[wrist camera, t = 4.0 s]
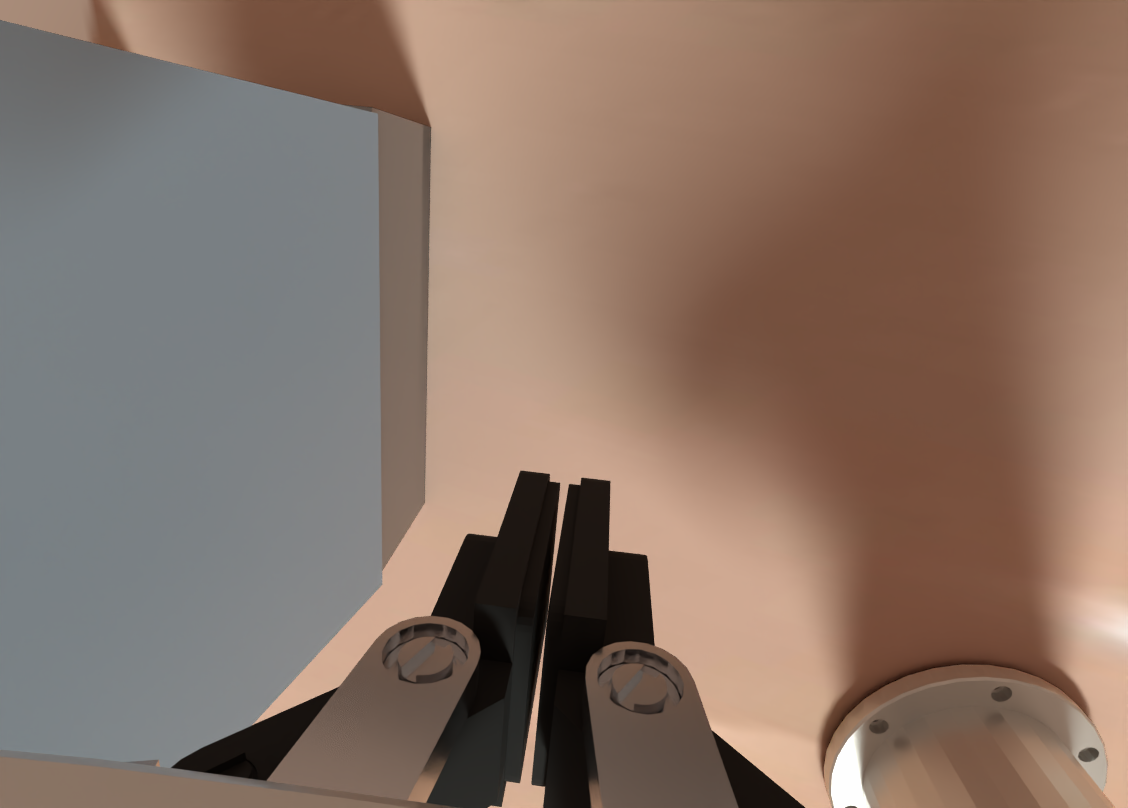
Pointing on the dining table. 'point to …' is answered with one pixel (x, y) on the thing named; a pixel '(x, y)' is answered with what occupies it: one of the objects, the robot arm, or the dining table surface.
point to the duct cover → (178, 395)
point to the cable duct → (402, 319)
